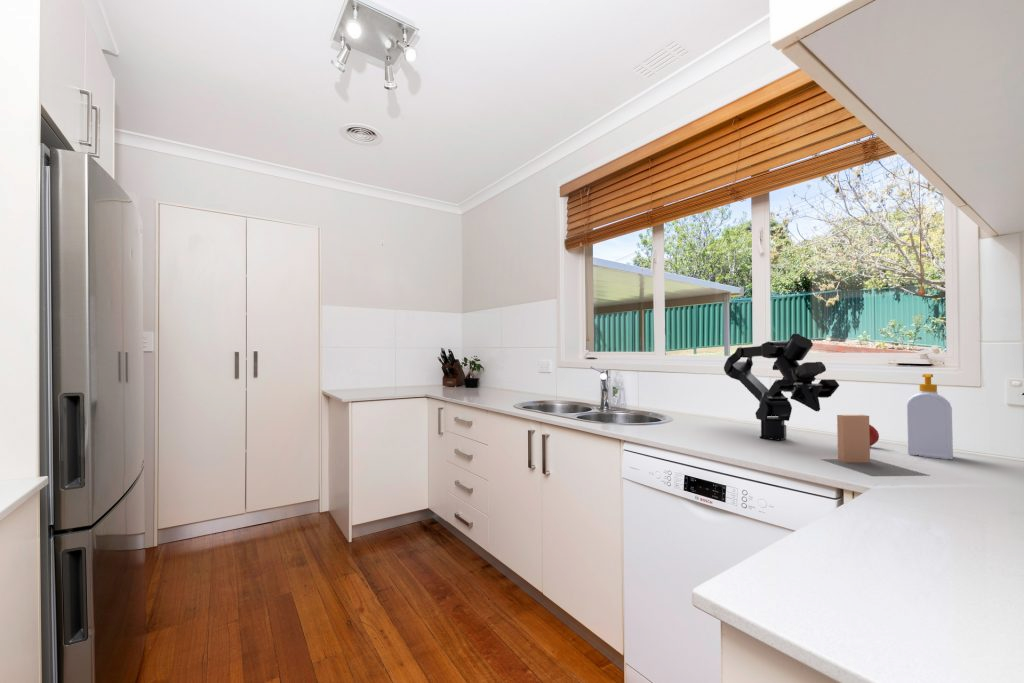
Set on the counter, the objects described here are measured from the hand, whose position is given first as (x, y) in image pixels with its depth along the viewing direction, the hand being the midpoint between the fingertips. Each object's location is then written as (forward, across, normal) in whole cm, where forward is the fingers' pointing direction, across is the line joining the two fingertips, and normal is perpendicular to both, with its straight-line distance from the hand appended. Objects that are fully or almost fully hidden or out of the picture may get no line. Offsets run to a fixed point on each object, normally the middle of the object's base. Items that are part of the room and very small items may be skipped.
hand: (818, 410), depth 127 cm
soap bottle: (+12, +28, +5) cm, 31 cm away
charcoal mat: (+21, 0, -4) cm, 21 cm away
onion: (+4, +20, +13) cm, 24 cm away
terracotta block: (+17, 0, 0) cm, 17 cm away
